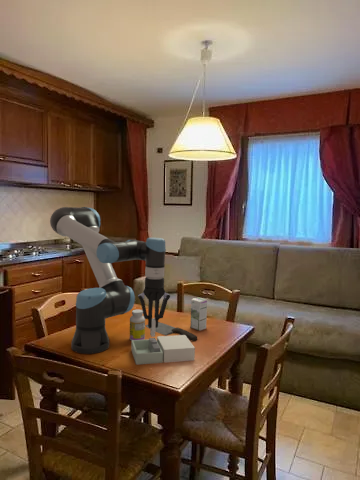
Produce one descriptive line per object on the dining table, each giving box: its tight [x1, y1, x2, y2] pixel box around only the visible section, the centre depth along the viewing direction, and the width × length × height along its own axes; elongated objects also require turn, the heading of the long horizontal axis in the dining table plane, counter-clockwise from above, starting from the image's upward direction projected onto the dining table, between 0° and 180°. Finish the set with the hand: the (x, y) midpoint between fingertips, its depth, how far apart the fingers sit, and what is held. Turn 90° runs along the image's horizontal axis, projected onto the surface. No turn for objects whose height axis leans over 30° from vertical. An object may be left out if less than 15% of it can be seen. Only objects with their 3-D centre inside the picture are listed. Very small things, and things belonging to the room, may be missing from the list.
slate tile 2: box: [148, 337, 157, 353], centre depth 149 cm, size 4×4×2 cm
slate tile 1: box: [151, 344, 160, 353], centre depth 143 cm, size 4×4×2 cm
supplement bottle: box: [129, 308, 146, 342], centre depth 162 cm, size 7×7×13 cm
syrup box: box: [190, 296, 208, 332], centre depth 179 cm, size 6×6×14 cm
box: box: [130, 338, 164, 366], centre depth 145 cm, size 10×14×4 cm
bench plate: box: [156, 334, 196, 363], centre depth 148 cm, size 12×14×5 cm
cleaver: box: [145, 321, 198, 342], centre depth 173 cm, size 29×10×2 cm, turn 46°
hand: (152, 335), depth 149 cm, fingers closed
